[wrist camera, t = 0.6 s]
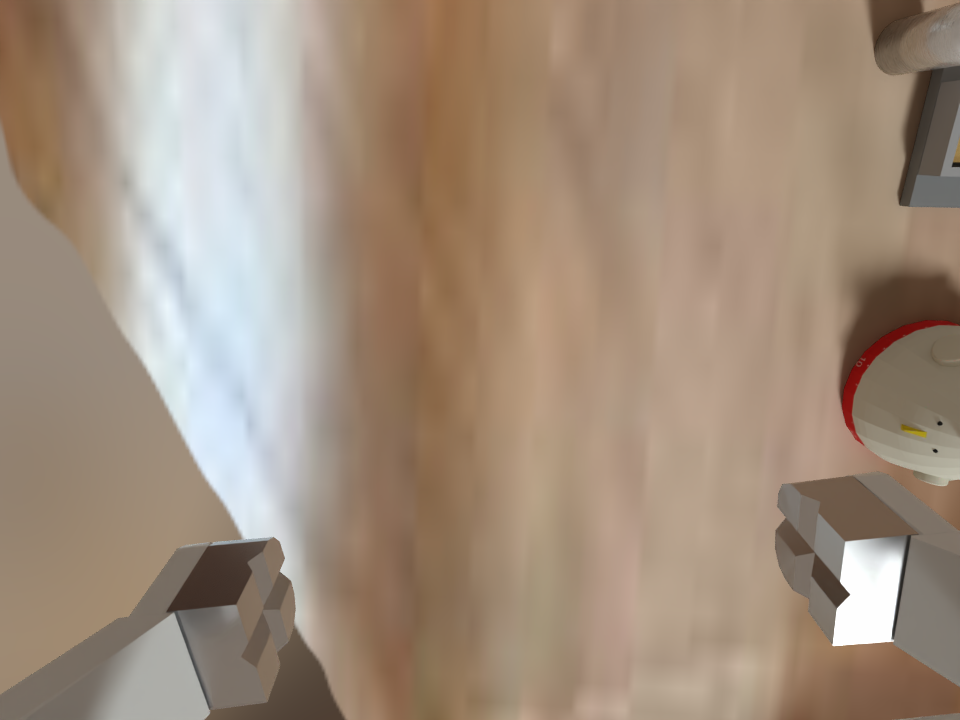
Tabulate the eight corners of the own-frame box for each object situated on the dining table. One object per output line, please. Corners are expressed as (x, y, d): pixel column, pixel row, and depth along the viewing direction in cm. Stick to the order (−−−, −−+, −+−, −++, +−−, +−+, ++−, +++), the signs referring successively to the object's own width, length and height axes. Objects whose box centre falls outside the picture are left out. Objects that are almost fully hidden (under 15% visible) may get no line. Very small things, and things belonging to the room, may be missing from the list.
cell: (881, 17, 47) (967, -9, 39) (932, 19, 47) (1029, -7, 39) (869, 74, 48) (950, 61, 40) (918, 76, 48) (1009, 62, 40)
